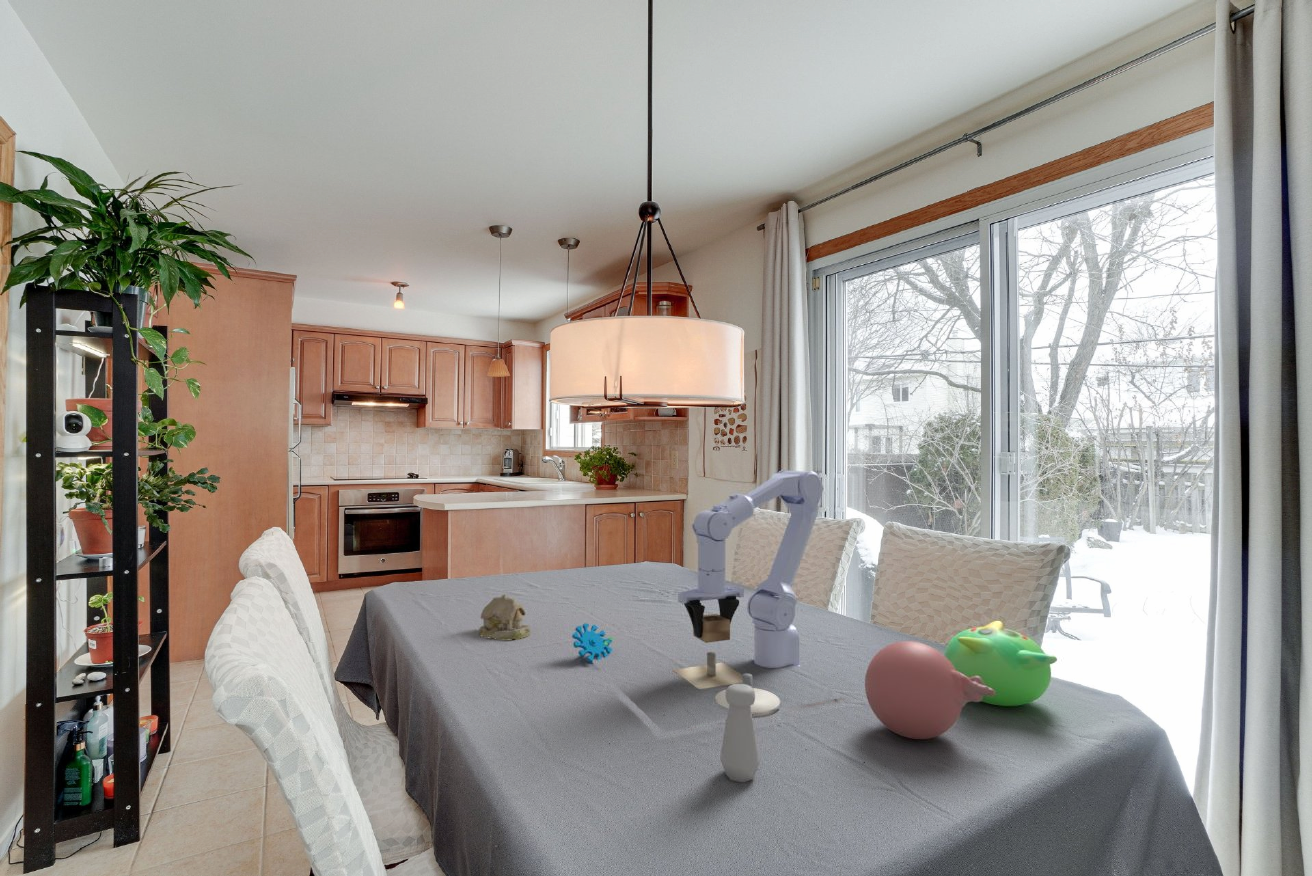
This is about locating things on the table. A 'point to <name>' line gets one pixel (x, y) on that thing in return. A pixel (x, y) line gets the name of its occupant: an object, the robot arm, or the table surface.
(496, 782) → the table surface
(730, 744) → the salt shaker
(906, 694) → the balloon
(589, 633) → the gear
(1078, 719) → the table surface
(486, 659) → the table surface
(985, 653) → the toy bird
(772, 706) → the cream plate
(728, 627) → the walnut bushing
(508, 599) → the ceramic model
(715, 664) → the birch stand
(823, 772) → the table surface
